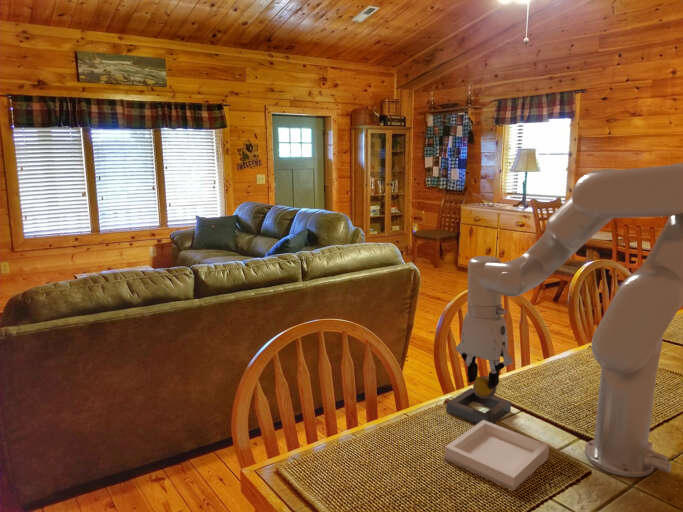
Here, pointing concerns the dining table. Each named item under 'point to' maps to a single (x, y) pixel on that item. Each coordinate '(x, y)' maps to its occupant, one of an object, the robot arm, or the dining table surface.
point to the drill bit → (483, 388)
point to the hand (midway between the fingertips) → (482, 383)
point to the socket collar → (462, 411)
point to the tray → (497, 454)
